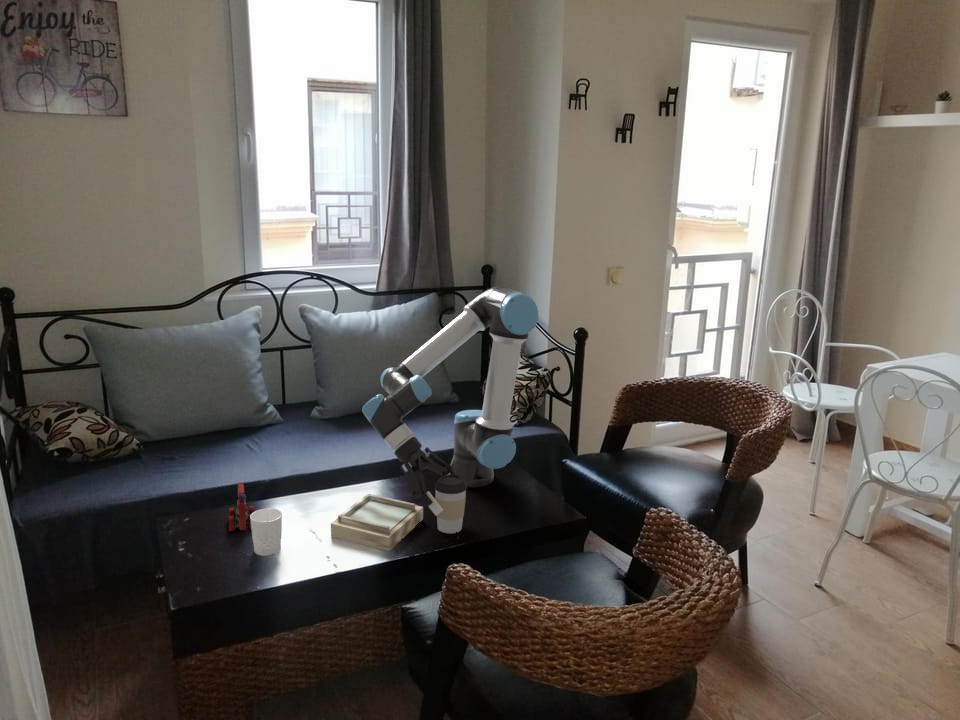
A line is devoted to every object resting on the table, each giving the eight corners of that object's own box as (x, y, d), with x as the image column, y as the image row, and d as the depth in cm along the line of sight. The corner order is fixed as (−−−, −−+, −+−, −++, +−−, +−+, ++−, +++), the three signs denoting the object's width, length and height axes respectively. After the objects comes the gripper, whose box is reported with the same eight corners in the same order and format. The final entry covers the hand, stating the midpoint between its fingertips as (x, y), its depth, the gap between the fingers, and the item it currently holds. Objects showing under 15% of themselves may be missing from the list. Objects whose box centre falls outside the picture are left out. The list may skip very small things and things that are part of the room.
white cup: (245, 553, 187) (243, 518, 185) (264, 539, 194) (262, 506, 192) (271, 559, 185) (269, 524, 182) (289, 545, 192) (287, 511, 189)
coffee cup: (461, 537, 199) (463, 487, 196) (430, 533, 201) (430, 483, 197) (468, 522, 208) (470, 474, 204) (438, 518, 210) (439, 470, 206)
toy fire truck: (229, 537, 195) (226, 501, 193) (229, 516, 207) (227, 483, 204) (255, 533, 198) (254, 499, 195) (254, 513, 209) (253, 480, 206)
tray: (368, 507, 215) (368, 490, 214) (422, 519, 209) (423, 502, 207) (331, 536, 197) (330, 518, 196) (388, 551, 191) (388, 532, 189)
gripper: (415, 436, 216) (459, 492, 215) (372, 466, 194) (421, 528, 192) (431, 423, 213) (476, 479, 212) (389, 451, 191) (439, 514, 189)
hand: (450, 503), depth 202 cm, fingers open, 13 cm apart
